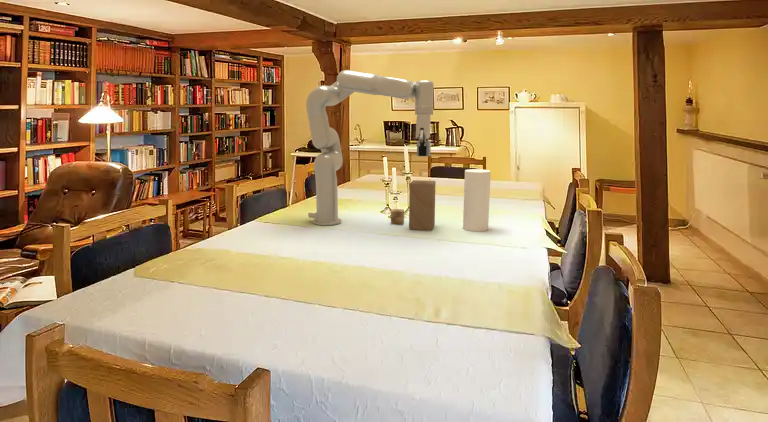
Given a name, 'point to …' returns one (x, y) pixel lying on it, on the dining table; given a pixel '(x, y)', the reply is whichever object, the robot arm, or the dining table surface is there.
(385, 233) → the dining table surface
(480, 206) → the tall pillar cylinder
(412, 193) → the wooden block
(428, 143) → the slate block
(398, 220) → the oak block
